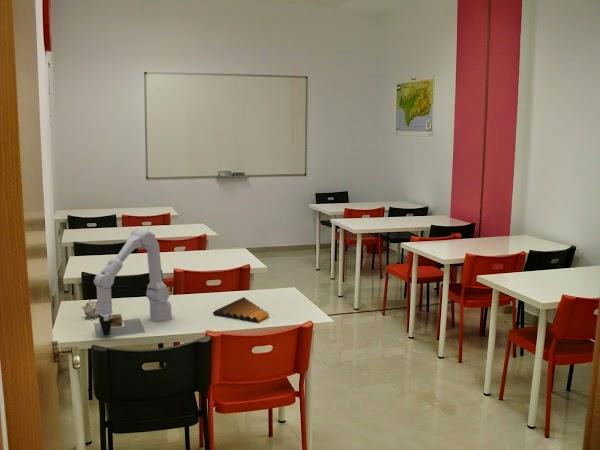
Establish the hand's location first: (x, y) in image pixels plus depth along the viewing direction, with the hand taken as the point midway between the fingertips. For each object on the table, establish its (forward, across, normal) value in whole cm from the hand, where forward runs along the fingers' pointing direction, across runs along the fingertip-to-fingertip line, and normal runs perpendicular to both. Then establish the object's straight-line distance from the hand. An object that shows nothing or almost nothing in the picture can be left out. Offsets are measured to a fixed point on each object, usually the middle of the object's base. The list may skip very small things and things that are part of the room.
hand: (105, 331), depth 257 cm
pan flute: (+2, -10, +67) cm, 68 cm away
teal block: (+1, 0, 0) cm, 1 cm away
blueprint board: (+2, -6, +6) cm, 9 cm away
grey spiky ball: (+2, -28, -4) cm, 28 cm away
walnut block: (+1, -10, +5) cm, 11 cm away
